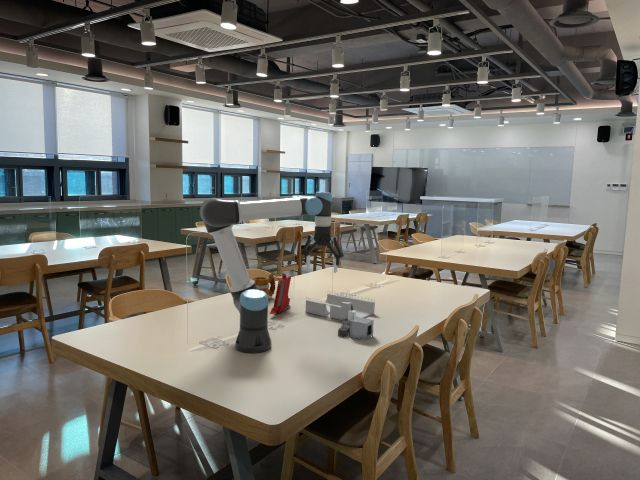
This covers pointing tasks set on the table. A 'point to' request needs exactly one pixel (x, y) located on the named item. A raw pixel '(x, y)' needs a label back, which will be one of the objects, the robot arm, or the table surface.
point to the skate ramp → (340, 307)
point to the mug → (266, 284)
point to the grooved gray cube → (361, 328)
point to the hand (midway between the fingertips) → (321, 270)
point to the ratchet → (347, 324)
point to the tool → (282, 295)
